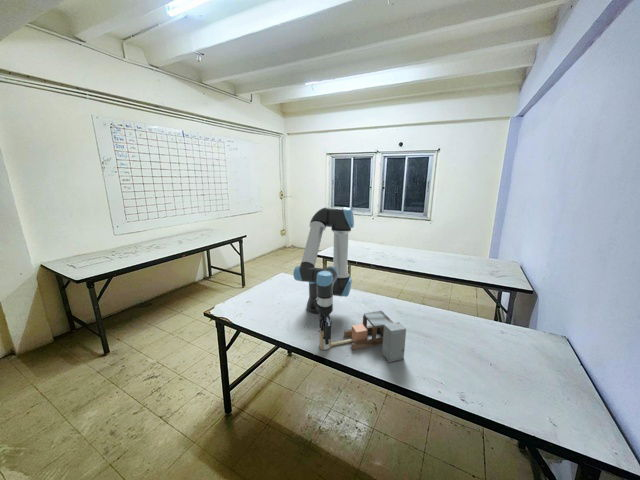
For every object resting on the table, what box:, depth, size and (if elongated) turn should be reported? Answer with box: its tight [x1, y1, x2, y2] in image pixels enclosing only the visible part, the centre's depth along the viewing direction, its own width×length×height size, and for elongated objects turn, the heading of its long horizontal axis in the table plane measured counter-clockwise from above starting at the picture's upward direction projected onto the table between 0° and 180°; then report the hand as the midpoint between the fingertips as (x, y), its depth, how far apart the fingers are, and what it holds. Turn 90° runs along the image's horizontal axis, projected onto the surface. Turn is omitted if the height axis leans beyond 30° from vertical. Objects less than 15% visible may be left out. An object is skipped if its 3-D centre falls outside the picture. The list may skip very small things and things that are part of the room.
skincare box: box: [381, 321, 407, 363], centre depth 117 cm, size 8×7×16 cm
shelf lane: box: [343, 310, 395, 351], centre depth 130 cm, size 12×22×11 cm, turn 106°
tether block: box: [318, 323, 368, 350], centre depth 127 cm, size 6×24×8 cm, turn 106°
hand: (325, 345), depth 125 cm, fingers closed on tether block, 3 cm apart
